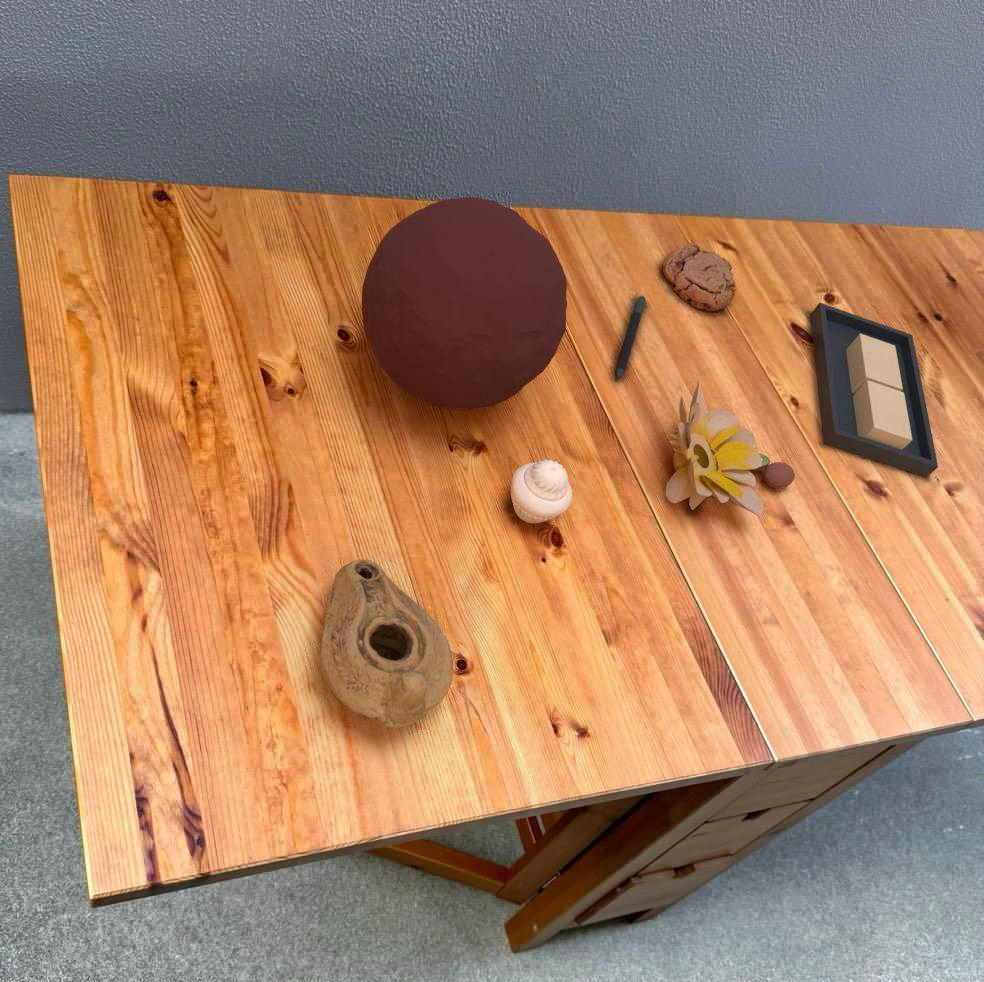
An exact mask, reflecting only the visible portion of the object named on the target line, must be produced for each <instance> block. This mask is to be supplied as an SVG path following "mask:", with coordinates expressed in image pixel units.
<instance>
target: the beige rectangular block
mask: <svg viewBox="0 0 984 982" xmlns="http://www.w3.org/2000/svg"><path fill="white" fill-rule="evenodd" d="M846 353H847V361H848V369H849V377H850V384H851V392H852V393H853V394H855V393H856V392H857V391H858V390H859V389H860V388H861V387H862V386H863V384H864V383H865V382H866V381H867V380H869V381H872V382H874V383H877V384H880V385H883V386H886V387H889V388H892V389H895V390H898V391H902V389H903V387H902V382H901V376H900V370H899V365H898V359H897V353H896V348H895V345H892V344H889V343H886V342H883V341H880V340H877V339H875V338H872V337H869V336H866V335H863V334H859V335H858V336H857V338H856V339H855V340H854V341H853V342H852V343H851V345H850V346H849V347H848V348H847V349H846Z"/></svg>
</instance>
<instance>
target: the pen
mask: <svg viewBox="0 0 984 982" xmlns="http://www.w3.org/2000/svg"><path fill="white" fill-rule="evenodd" d="M646 302H647V301H646V297H645V296H644V295H640V296H638V298H637V300H636V303H635V306H634V310H633V313H632V316H631V319H630V322H629V326H628V329H627V332H626V336H625V338H624V342H623V346H622V348H621V352H620V355H619V358H618V361H617V364H616V368H615V375H616V379H617V380H620V378H621V377H622V376H623V375H624V373H625V371H626V368H627V365H628V361H629V358H630V354H631V352H632V348H633V345H634V341H635V338H636V334H637V332H638V328H639V324H640V322H641V318H642V315H643V312H644V308H645V305H646Z"/></svg>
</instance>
